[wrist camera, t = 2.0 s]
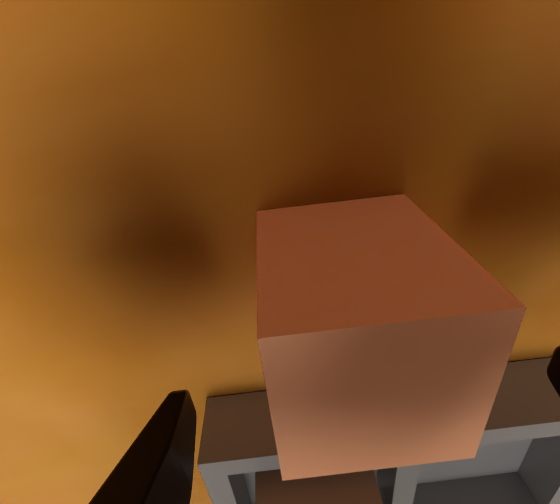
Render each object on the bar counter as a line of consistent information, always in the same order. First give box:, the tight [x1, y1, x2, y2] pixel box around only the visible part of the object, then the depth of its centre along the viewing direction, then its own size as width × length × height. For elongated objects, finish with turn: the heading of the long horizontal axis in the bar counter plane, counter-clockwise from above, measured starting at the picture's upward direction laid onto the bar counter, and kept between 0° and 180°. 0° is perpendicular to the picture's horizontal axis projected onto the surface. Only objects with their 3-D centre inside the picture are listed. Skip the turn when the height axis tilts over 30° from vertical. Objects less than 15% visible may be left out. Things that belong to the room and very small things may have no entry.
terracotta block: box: [256, 194, 526, 481], centre depth 10 cm, size 5×5×6 cm
